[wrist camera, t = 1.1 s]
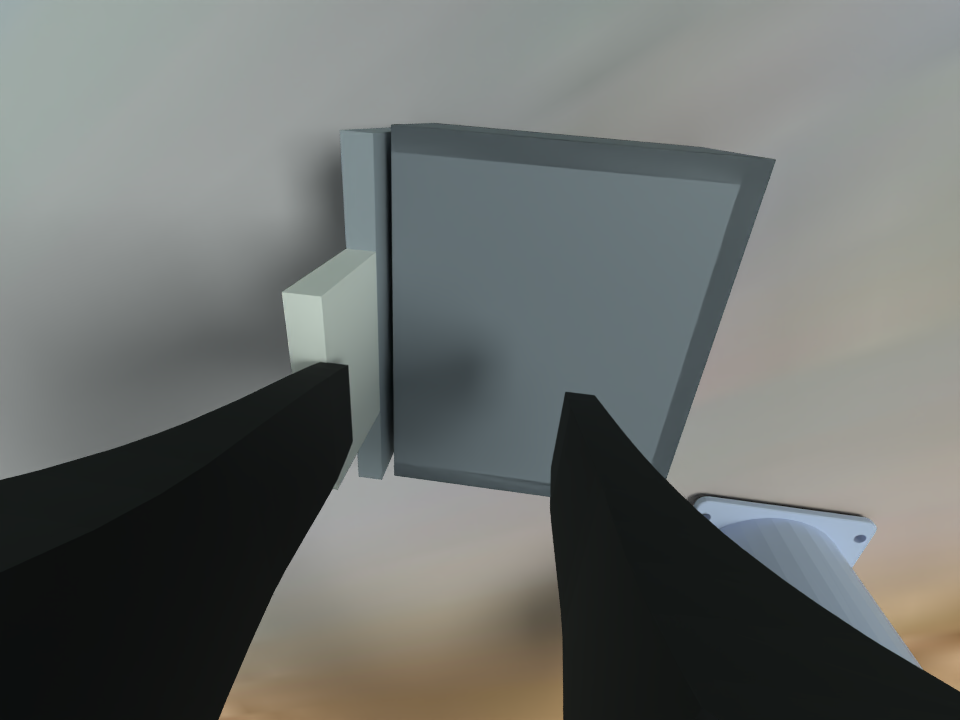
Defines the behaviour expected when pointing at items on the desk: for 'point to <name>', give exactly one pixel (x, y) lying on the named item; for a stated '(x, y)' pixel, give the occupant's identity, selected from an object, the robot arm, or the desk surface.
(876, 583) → the desk surface
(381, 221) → the carton flap
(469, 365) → the carton
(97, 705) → the robot arm
